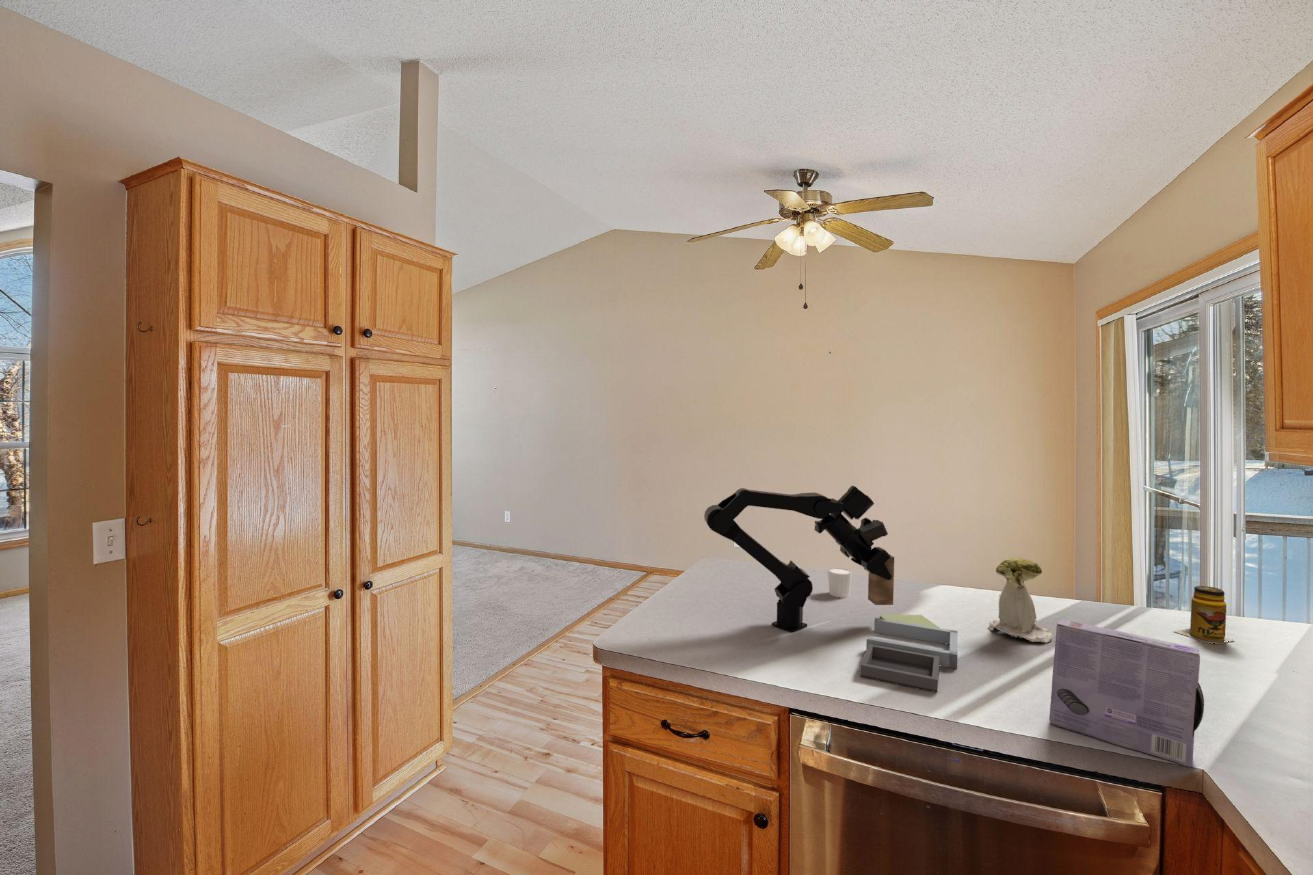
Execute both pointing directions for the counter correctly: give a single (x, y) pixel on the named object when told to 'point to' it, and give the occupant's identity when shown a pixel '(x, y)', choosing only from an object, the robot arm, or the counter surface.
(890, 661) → the tray
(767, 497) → the robot arm
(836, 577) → the white cup
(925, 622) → the mat
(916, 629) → the channel
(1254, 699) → the counter surface
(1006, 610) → the mushroom
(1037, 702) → the counter surface
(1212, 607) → the condiment
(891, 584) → the walnut block
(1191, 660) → the cake pan box
